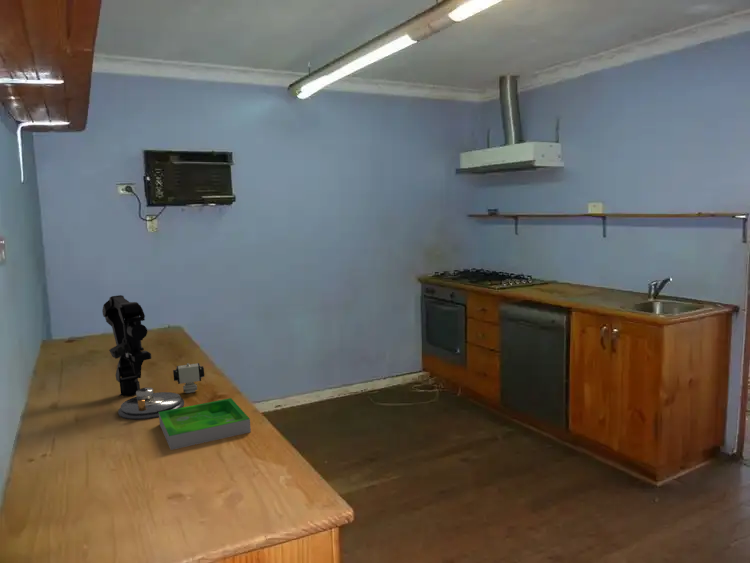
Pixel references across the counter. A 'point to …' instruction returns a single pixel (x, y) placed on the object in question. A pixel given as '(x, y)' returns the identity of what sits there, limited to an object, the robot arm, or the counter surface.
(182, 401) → the turntable base
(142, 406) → the turntable
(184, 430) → the tray
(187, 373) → the pneumatic valve
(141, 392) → the cover
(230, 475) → the counter surface
